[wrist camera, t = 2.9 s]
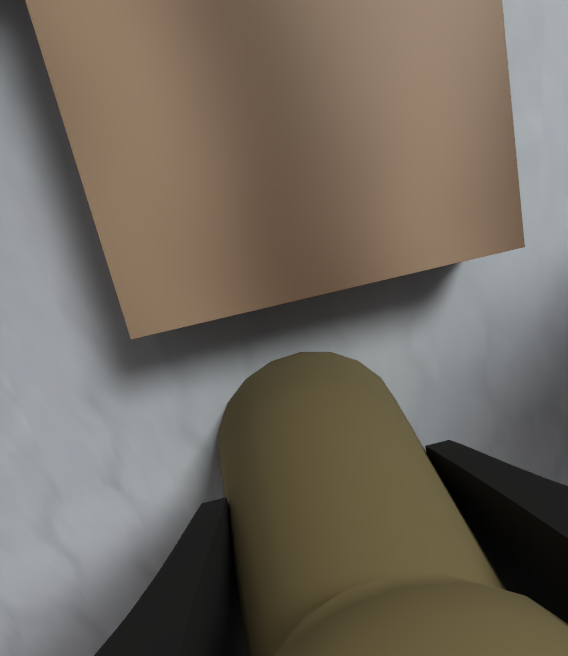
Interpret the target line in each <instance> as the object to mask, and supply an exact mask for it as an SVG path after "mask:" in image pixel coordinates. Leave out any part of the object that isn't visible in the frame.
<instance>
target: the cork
mask: <svg viewBox="0 0 568 656" xmlns="http://www.w3.org/2000/svg"><path fill="white" fill-rule="evenodd" d="M219 462H220V469H221V476H222V482H223V489H224V496H225V498H226V497H227V501H228V504H229V512H230V523H231V534H232V545H233V556H234V564H235V571H236V578H237V584H238V591H239V598H240V605H241V612H242V619H243V625H244V632H245V639H246V646H247V653H248V656H568V624H567V623H566V622H564V621H563V620H561V619H560V618H558V617H557V616H555V615H554V614H552V613H551V612H549V611H548V610H546V609H545V608H543V607H542V606H540V605H539V604H537V603H536V602H534V601H533V600H531V599H530V598H528V597H527V596H524V595H520V594H517V593H514V592H510V591H507V590H506V589H505V587H504V585H503V583H502V582H501V580H500V578H499V577H498V575H497V573H496V571H495V570H494V568H493V566H492V564H491V563H490V561H489V559H488V558H487V556H486V554H485V552H484V551H483V549H482V547H481V546H480V544H479V542H478V540H477V539H476V537H475V535H474V534H473V532H472V530H471V528H470V527H469V525H468V523H467V522H466V520H465V518H464V516H463V515H462V513H461V511H460V510H459V508H458V506H457V504H456V503H455V501H454V499H453V497H452V496H451V494H450V492H449V491H448V489H447V487H446V485H445V484H444V482H443V480H442V479H441V477H440V475H439V474H438V472H437V470H436V469H435V467H434V465H433V464H432V462H431V460H430V459H429V457H428V456H427V453H426V451H425V449H424V448H423V446H422V444H421V442H420V441H419V439H418V437H417V436H416V434H415V432H414V430H413V429H412V427H411V425H410V424H409V422H408V420H407V418H406V417H405V415H404V413H403V412H402V410H401V408H400V406H399V405H398V403H397V401H396V400H395V398H394V397H393V395H392V394H391V392H390V391H389V389H388V388H387V386H386V385H385V383H384V382H383V380H382V379H381V378H380V377H379V376H378V375H376V374H375V373H374V372H372V371H371V370H370V369H368V368H367V367H366V366H364V365H363V364H362V363H360V362H359V361H357V360H353V359H350V358H347V357H344V356H341V355H338V354H335V353H332V352H300V353H296V354H293V355H290V356H287V357H284V358H281V359H278V360H274V361H271V362H270V363H268V364H267V365H265V366H264V367H263V368H261V369H260V370H258V371H257V372H255V373H254V374H253V375H251V376H250V377H248V378H247V379H246V380H245V381H244V382H243V384H242V385H241V386H240V388H239V389H238V390H237V392H236V393H235V394H234V396H233V397H232V398H231V399H230V401H229V402H228V404H227V407H226V410H225V413H224V416H223V419H222V422H221V425H220V428H219Z"/></svg>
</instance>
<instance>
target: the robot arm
mask: <svg viewBox="0 0 568 656" xmlns="http://www.w3.org/2000/svg"><path fill="white" fill-rule="evenodd" d="M425 447H426V453H427V456H428V457H429V459H430V460H431V462H432V464H433V465H434V467H435V469H436V470H437V472H438V474H439V475H440V477H441V479H442V480H443V482H444V484H445V485H446V487H447V489H448V491H449V492H450V494H451V496H452V497H453V499H454V501H455V503H456V504H457V506H458V508H459V510H460V511H461V513H462V515H463V516H464V518H465V520H466V522H467V523H468V525H469V527H470V528H471V530H472V532H473V534H474V535H475V537H476V539H477V540H478V542H479V544H480V546H481V547H482V549H483V551H484V552H485V554H486V556H487V558H488V559H489V561H490V563H491V564H492V566H493V568H494V570H495V571H496V573H497V575H498V577H499V578H500V580H501V582H502V583H503V585H504V587H505V589H506V590H507V591H510V592H514V593H517V594H520V595H524V596H527V597H528V598H530V599H531V600H533V601H534V602H536V603H537V604H539V605H540V606H542V607H543V608H545V609H546V610H548V611H549V612H551V613H552V614H554V615H555V616H557V617H558V618H560V619H561V620H563V621H564V622H566V623H567V624H568V486H566V485H563V484H560V483H557V482H554V481H551V480H549V479H546V478H543V477H541V476H538V475H535V474H533V473H530V472H528V471H525V470H522V469H520V468H517V467H515V466H512V465H510V464H508V463H505V462H503V461H500V460H498V459H495V458H493V457H491V456H488V455H486V454H484V453H481V452H479V451H476V450H474V449H472V448H469V447H467V446H464V445H462V444H459V443H456V442H454V441H451V440H447V441H443V442H439V443H435V444H431V445H428V446H425ZM94 656H248V653H247V646H246V639H245V632H244V625H243V619H242V612H241V605H240V598H239V591H238V584H237V578H236V571H235V564H234V556H233V545H232V534H231V523H230V512H229V504H228V501H227V497H226V498H222V499H218V500H214V501H210V502H206V503H202V504H201V506H200V507H199V509H198V510H197V512H196V513H195V515H194V516H193V518H192V520H191V521H190V523H189V525H188V526H187V528H186V530H185V531H184V533H183V534H182V536H181V538H180V539H179V541H178V543H177V544H176V546H175V547H174V549H173V550H172V552H171V554H170V555H169V557H168V558H167V560H166V561H165V563H164V564H163V566H162V568H161V569H160V571H159V572H158V574H157V575H156V576H155V578H154V579H153V581H152V582H151V583H150V585H149V586H148V588H147V589H146V591H145V592H144V593H143V595H142V596H141V598H140V599H139V600H138V602H137V603H136V605H135V606H134V607H133V609H132V610H131V611H130V613H129V614H128V615H127V616H126V618H125V619H124V620H123V622H122V623H121V624H120V625H119V627H118V628H117V629H116V630H115V632H114V633H113V634H112V635H111V636H110V637H109V639H108V640H107V641H106V642H105V643H104V645H103V646H102V647H101V648H100V649H99V651H98V652H97V653H96V654H95V655H94Z"/></svg>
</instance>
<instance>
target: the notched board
mask: <svg viewBox="0 0 568 656" xmlns="http://www.w3.org/2000/svg"><path fill="white" fill-rule="evenodd" d="M25 1H26V4H27V8H28V11H29V14H30V17H31V20H32V24H33V27H34V30H35V33H36V36H37V40H38V43H39V46H40V49H41V53H42V56H43V59H44V62H45V65H46V69H47V72H48V75H49V78H50V81H51V85H52V88H53V91H54V94H55V97H56V101H57V104H58V107H59V110H60V114H61V117H62V120H63V123H64V126H65V130H66V133H67V136H68V139H69V142H70V146H71V149H72V152H73V155H74V159H75V162H76V165H77V168H78V171H79V175H80V178H81V181H82V184H83V187H84V191H85V194H86V197H87V200H88V203H89V207H90V210H91V213H92V216H93V220H94V223H95V226H96V229H97V232H98V236H99V239H100V242H101V245H102V248H103V252H104V255H105V258H106V261H107V265H108V268H109V271H110V274H111V277H112V281H113V284H114V287H115V290H116V293H117V297H118V300H119V303H120V306H121V309H122V313H123V316H124V319H125V322H126V326H127V329H128V332H129V335H130V338H131V339H135V338H139V337H144V336H148V335H152V334H156V333H161V332H165V331H169V330H173V329H178V328H182V327H186V326H190V325H195V324H199V323H203V322H207V321H212V320H216V319H220V318H224V317H229V316H233V315H237V314H241V313H246V312H250V311H254V310H258V309H263V308H267V307H271V306H275V305H280V304H284V303H288V302H292V301H297V300H301V299H305V298H309V297H314V296H318V295H322V294H326V293H331V292H335V291H339V290H344V289H348V288H352V287H356V286H361V285H365V284H369V283H373V282H378V281H382V280H386V279H390V278H395V277H399V276H403V275H407V274H412V273H416V272H420V271H424V270H429V269H433V268H437V267H441V266H446V265H450V264H454V263H458V262H463V261H467V260H471V259H475V258H480V257H484V256H488V255H492V254H497V253H501V252H505V251H509V250H514V249H518V248H522V247H525V245H524V234H523V223H522V212H521V201H520V191H519V180H518V169H517V158H516V148H515V137H514V126H513V115H512V104H511V94H510V83H509V72H508V61H507V50H506V40H505V29H504V18H503V7H502V0H25Z"/></svg>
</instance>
